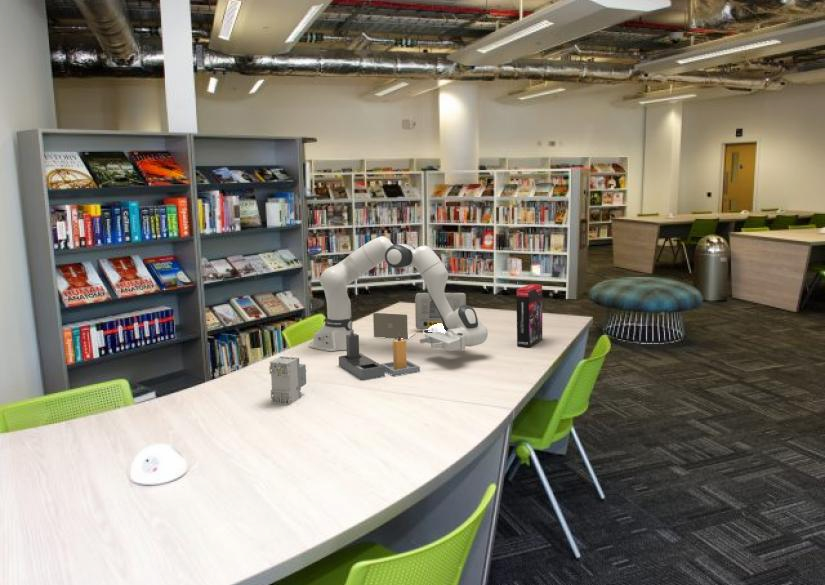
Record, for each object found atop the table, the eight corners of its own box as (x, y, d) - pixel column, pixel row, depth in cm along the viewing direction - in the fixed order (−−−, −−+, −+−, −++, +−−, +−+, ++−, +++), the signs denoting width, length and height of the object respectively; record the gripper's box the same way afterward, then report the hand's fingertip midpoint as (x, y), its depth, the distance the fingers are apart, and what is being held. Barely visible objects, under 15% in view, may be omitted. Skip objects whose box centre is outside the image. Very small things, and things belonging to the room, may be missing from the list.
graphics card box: (529, 348, 297) (530, 290, 292) (515, 346, 301) (515, 289, 296) (542, 340, 311) (543, 284, 307) (529, 338, 315) (529, 283, 310)
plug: (393, 368, 267) (392, 334, 265) (403, 367, 269) (402, 333, 267) (397, 370, 265) (396, 336, 262) (406, 369, 267) (405, 335, 264)
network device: (466, 330, 335) (465, 292, 331) (465, 334, 326) (465, 295, 323) (416, 329, 337) (416, 292, 334) (415, 333, 329) (414, 295, 325)
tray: (380, 368, 269) (380, 363, 269) (406, 364, 275) (406, 359, 275) (393, 376, 259) (393, 371, 259) (419, 371, 265) (419, 366, 264)
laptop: (416, 334, 328) (415, 309, 326) (407, 340, 317) (407, 314, 314) (383, 332, 334) (382, 307, 332) (373, 338, 323) (373, 312, 320)
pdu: (338, 365, 275) (338, 356, 275) (360, 362, 280) (360, 352, 279) (362, 380, 255) (361, 370, 254) (384, 376, 259) (384, 366, 259)
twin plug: (347, 362, 274) (345, 329, 272) (356, 360, 276) (355, 328, 274) (350, 364, 272) (348, 330, 269) (359, 362, 274) (358, 329, 271)
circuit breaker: (309, 392, 242) (307, 353, 239) (289, 404, 229) (287, 363, 226) (291, 390, 244) (289, 351, 242) (271, 402, 231) (268, 362, 228)
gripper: (441, 327, 286) (413, 331, 279) (466, 336, 268) (438, 341, 262) (441, 341, 287) (414, 345, 281) (467, 351, 269) (438, 356, 263)
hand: (426, 343), depth 271 cm, fingers open, 8 cm apart
